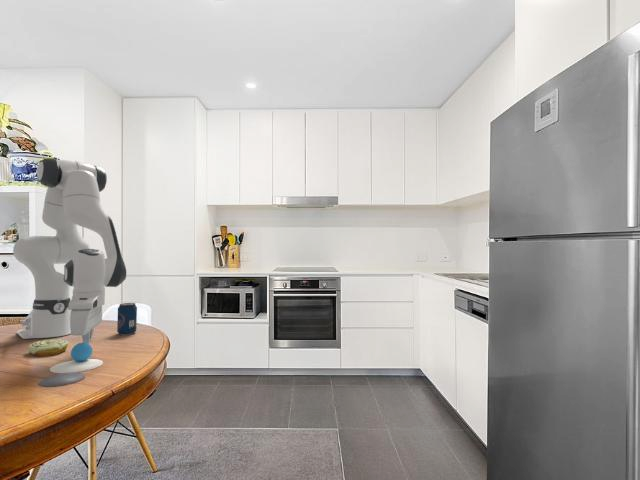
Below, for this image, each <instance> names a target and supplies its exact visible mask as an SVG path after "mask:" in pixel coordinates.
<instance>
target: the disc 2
mask: <svg viewBox="0 0 640 480" xmlns="http://www.w3.org/2000/svg"><path fill="white" fill-rule="evenodd" d="M103 364H104V361H103V360H101V359H96V358H95V359H94V358H88V359H87V360H85V361H81V362H78V361H75V360H74V359H73V360H69V361H63V362H61V363H58V364H54V365H53V366H50V368H49V371H50V372H51V373H53V374H54V373H55V374H64V373H83V372H87V371H91V370H93V369H97V368H99V367H101V366H102V365H103Z"/></svg>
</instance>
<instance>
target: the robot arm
mask: <svg viewBox="0 0 640 480" xmlns="http://www.w3.org/2000/svg"><path fill="white" fill-rule="evenodd" d="M107 176H108V175H107V172H106V171H105V169H103V168H102V167H99V166H97V165H91V164H88V163H84V162H80V161H72V160H65V159H57V158H52V157H47V158H46V157H44V158H43V159H42V160H40V161H39V163H38V165H37V167H36V177H37V180H38V182H39V183H40V184H41V185H42V186H45V187H47V189H46V194H45V198H44V202H43V209H42V215H41V218H42V222H43V223H44V224H45V225H46V226H48V227H49V228H51V229H53V230H55V232H56V235H54V236H51V235H50V236H47V235H46V236H45V235H31V236H24V237H19V239H18V240H16V241H15V243H14V246H13V249H12V253H13V255H14V257H15V259H16V260H17V261H18V262H19V263H21V264H23V265H24V266H25V267H26V268H27V269H28V270H29V271H30V272H31V275H32V277H33V279H34V288H35V290H34V291H35V293H34V294H35V298H34V300H33V303H32V308H31V309H32V310H31V311H30V312H29V314H28V315H27V316H26V317H25V318H24V319H22V320H21V321H20V322H21V323H20V324H21V326H22V327H24V328H23V329H18V330H17V332H16V334H17V335H18V336H19V337H20V338H21V339H22V340H23V339H24V340H25V339H28V340H29V339H45V338H46V339H47V338H48V339H49V338H55V337H62V336H67V335H70V334H71V336H73V337H74V336H78V337H79V336H81V337H82V343H87V344H89V345H90V344H91V342H92V340H93V339H92V338H93V333H94V329H95V328H96V327H97V326H98V325H100V324H101V323H102V321H103V306H104V305H105V300H106V298H105V296H106V288H107V287H108V288H117V287H119V286H120V285H122V283H124V282H125V280H126V279H127V267H126V264H125V261H124V259H123V256H122V253H121V248H120V244H119V239H118V236H117V232H116V229H115V225H114V223H113V220H112V218H111V216H110V215H107V214H106V212H105V211H104V210H103V208H102V206H101V196H100V195H101V194H100V192H102V191H104V190H105V188H106V185H107V182H108V180H107V179H108V178H107ZM77 226H79V227H82V228H85V229H88V230H90V231H91V232H94V233H96V234H98V235H99V236H100V238H101V239H102V242H103V246H104V250H105V252H104V251H102V250H100V249H94V248H91V247H90V246H91V245H90V243H89V242H88V241H87V240H86V239H85V238H84V237H82V235H81V234H80V232H79V230H78V227H77ZM105 254H106V258H105ZM56 264H57V265H59V264H63V265H64V266H63V267H64V270H63V271H64V272H63V273H62V272H58V271H56V268H55V265H56ZM70 287H73V289H72V296H71V297H70V290H71V289H70ZM105 287H106V288H105Z"/></svg>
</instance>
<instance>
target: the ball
mask: <svg viewBox="0 0 640 480" xmlns="http://www.w3.org/2000/svg"><path fill="white" fill-rule="evenodd" d="M92 354H93V347H92V346H91V345H90V343H89V344H87V343H83V342H80V343H77V344H75V345H74V346H73V347H72V349H71V351H70V356H71V358H72V359H73V360H75V361H78V362H81V361H85V360H87V359H90V358H91V356H92Z"/></svg>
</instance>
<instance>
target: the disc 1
mask: <svg viewBox="0 0 640 480" xmlns="http://www.w3.org/2000/svg"><path fill="white" fill-rule="evenodd" d="M85 378H86V375H85V374H84V373H83V372H76V373H57V374H53V375H50V376H47V377H44V378H42V379H40V380H39V381H38V385H39V386H40V387H45V388H47V387H48V388H51V387H53V388H54V387H55V388H56V387H61V386H68V385H72V384H75V383H78V382H81V381H82V380H84V379H85Z"/></svg>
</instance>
